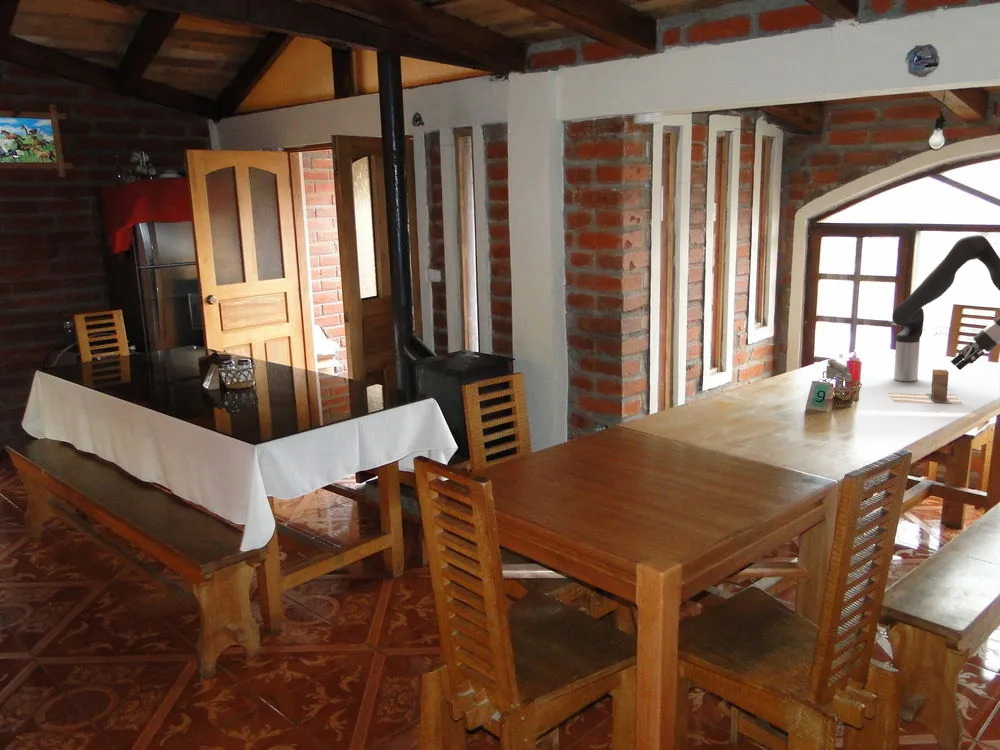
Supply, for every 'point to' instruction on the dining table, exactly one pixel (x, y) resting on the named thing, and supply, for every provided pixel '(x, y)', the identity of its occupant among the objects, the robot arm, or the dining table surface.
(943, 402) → the subfloor panel
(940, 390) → the walnut block
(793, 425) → the dining table surface
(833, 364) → the geiger counter
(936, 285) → the robot arm
